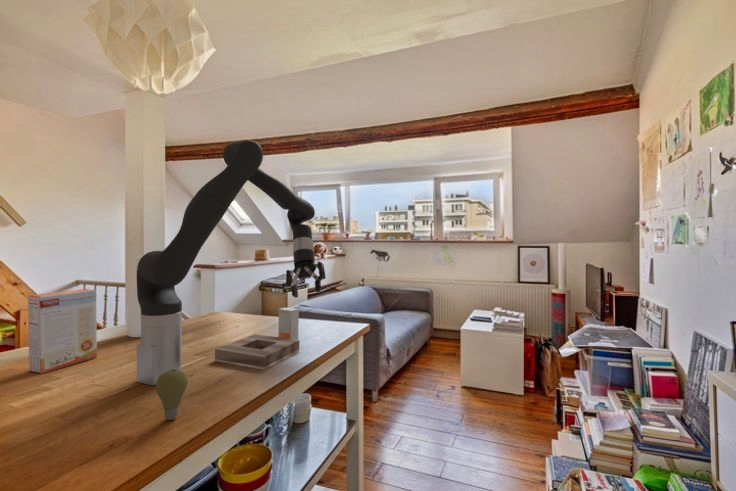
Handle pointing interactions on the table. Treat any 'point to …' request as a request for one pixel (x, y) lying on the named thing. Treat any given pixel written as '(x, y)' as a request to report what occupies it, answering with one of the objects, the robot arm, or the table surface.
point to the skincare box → (288, 323)
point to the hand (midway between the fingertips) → (306, 294)
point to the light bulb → (171, 391)
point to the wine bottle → (134, 311)
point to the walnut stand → (257, 351)
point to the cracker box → (61, 329)
